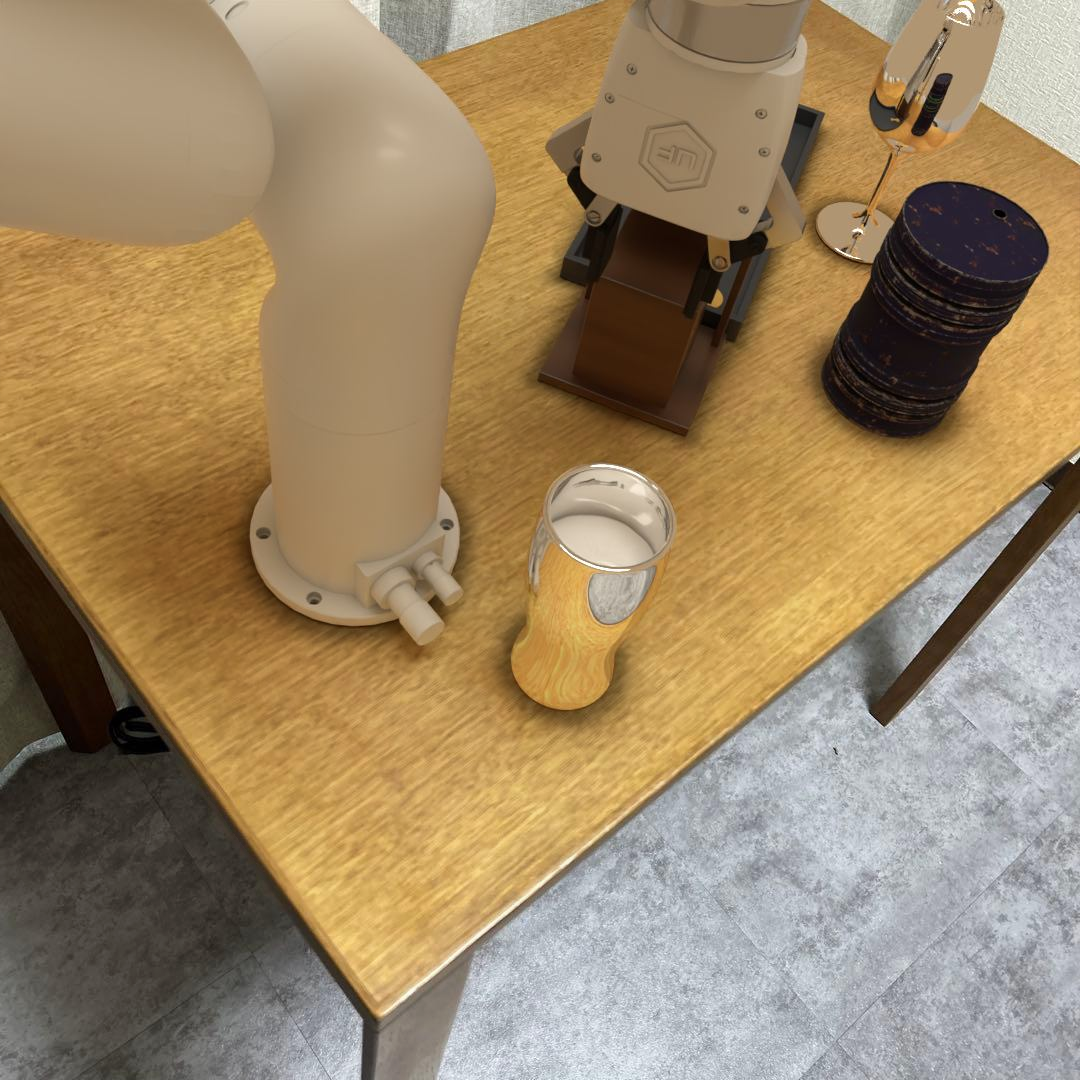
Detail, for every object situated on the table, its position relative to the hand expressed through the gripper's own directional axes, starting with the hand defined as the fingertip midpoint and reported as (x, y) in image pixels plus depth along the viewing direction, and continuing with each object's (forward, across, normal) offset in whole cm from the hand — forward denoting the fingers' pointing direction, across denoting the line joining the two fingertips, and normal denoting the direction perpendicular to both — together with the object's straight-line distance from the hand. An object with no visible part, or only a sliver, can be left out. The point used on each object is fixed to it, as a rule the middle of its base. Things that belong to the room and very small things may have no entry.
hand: (646, 284), depth 67 cm
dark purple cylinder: (+12, +18, +12) cm, 25 cm away
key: (+12, +2, +16) cm, 20 cm away
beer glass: (+12, +4, -20) cm, 24 cm away
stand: (+12, 0, +6) cm, 14 cm away
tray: (+12, -1, +27) cm, 29 cm away
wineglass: (+12, +13, +29) cm, 34 cm away
